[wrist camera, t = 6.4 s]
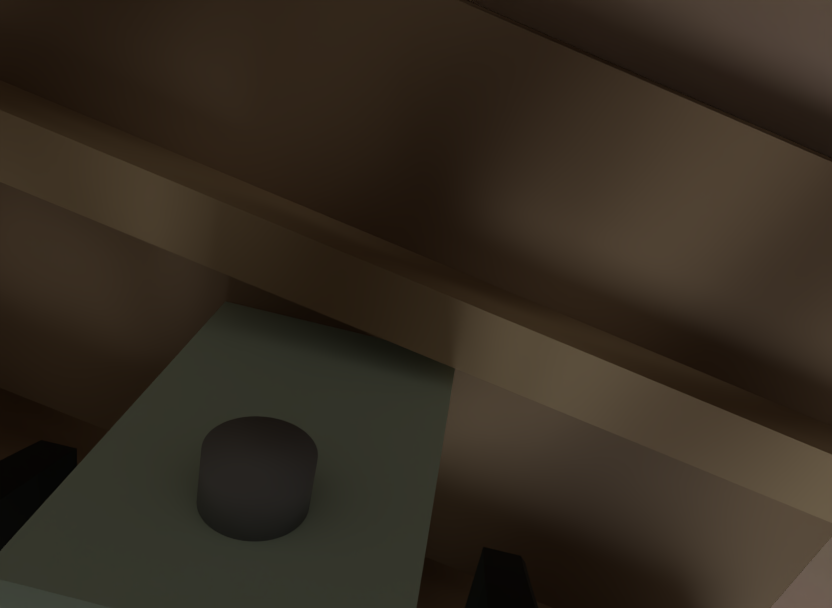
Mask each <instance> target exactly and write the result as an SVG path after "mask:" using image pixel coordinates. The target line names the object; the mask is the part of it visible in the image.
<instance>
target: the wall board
mask: <svg viewBox="0 0 832 608" xmlns="http://www.w3.org/2000/svg"><path fill="white" fill-rule="evenodd" d="M225 302H230V303H234V304H239V305H243V306H247V307H251V308H255V309H259V310H264V311H268V312H272V313H276V314H280V315H284V316H289V317H293V318H297V319H301V320H305V321H309V322H313V323H318V324H322V325H326V326H330V327H334V328H338V329H343V330H347V331H351V332H355V333H359V334H363V335H368V336H372V337H376V338H380V339H384V340H387V341H389V342H392V343H394V344H397V345H399V346H401V347H404V348H406V349H409V350H411V351H414V352H416V353H418V354H421V355H423V356H426V357H428V358H431V359H433V360H436V361H438V362H440V363H443V364H445V365H448V366H450V367H453V368H455V372H454V378H453V384H452V391H451V397H450V403H449V409H448V415H447V422H446V428H445V434H444V440H443V446H442V453H441V459H440V465H439V471H438V477H437V484H436V490H435V496H434V502H433V508H432V515H431V521H430V527H429V533H428V539H427V546H426V552H425V558H424V564H423V570H422V577H421V583H420V589H419V595H418V601H417V608H465V605H466V602H467V599H468V595H469V592H470V589H471V585H472V582H473V579H474V576H475V572H476V569H477V566H478V562H479V559H480V556H481V553H482V549H483V547H487V548H491V549H495V550H499V551H503V552H507V553H512V554H516V555H520V556H521V557H522V558H523V560H524V561H525V563H526V567H527V571H528V575H529V578H530V582H531V585H532V589H533V592H534V595H535V599H536V602H537V605H538V608H771V607H772V605H773V604H774V603H775V602H776V601H777V600H778V598H779V597H780V596H781V595H782V594H783V593H784V591H785V590H786V589H787V588H788V587H789V586H790V584H791V583H792V582H793V581H794V580H795V579H796V578H797V576H798V575H799V574H800V573H801V572H802V571H803V569H804V568H805V567H806V566H807V565H808V564H809V562H810V561H811V560H812V559H813V558H814V557H815V555H816V554H817V553H818V552H819V551H820V550H821V549H822V547H823V546H824V545H825V544H826V543H827V542H828V540H829V539H830V538H831V537H832V158H830V157H827V156H825V155H823V154H820V153H818V152H816V151H813V150H811V149H809V148H806V147H804V146H802V145H800V144H797V143H795V142H793V141H790V140H788V139H786V138H783V137H781V136H779V135H776V134H774V133H772V132H770V131H767V130H765V129H763V128H760V127H758V126H756V125H753V124H751V123H749V122H746V121H744V120H742V119H739V118H737V117H735V116H733V115H730V114H728V113H726V112H723V111H721V110H719V109H716V108H714V107H712V106H709V105H707V104H705V103H703V102H700V101H698V100H696V99H693V98H691V97H689V96H686V95H684V94H682V93H679V92H677V91H675V90H673V89H670V88H668V87H666V86H663V85H661V84H659V83H656V82H654V81H652V80H649V79H647V78H645V77H643V76H640V75H638V74H636V73H633V72H631V71H629V70H626V69H624V68H622V67H619V66H617V65H615V64H612V63H610V62H608V61H606V60H603V59H601V58H599V57H596V56H594V55H592V54H589V53H587V52H585V51H582V50H580V49H578V48H576V47H573V46H571V45H569V44H566V43H564V42H562V41H559V40H557V39H555V38H552V37H550V36H548V35H546V34H543V33H541V32H539V31H536V30H534V29H532V28H529V27H527V26H525V25H522V24H520V23H518V22H516V21H513V20H511V19H509V18H506V17H504V16H502V15H499V14H497V13H495V12H492V11H490V10H488V9H485V8H483V7H481V6H479V5H476V4H474V3H472V2H469V1H467V0H0V460H2V459H4V458H6V457H8V456H10V455H12V454H14V453H16V452H18V451H20V450H22V449H24V448H26V447H28V446H30V445H32V444H34V443H36V442H38V441H40V440H44V441H48V442H52V443H56V444H61V445H65V446H69V447H73V448H77V465H78V464H79V463H80V462H81V461H82V460H83V459H84V458H85V457H86V456H87V454H88V453H89V452H90V451H91V450H92V449H93V448H94V447H95V446H96V444H97V443H98V442H99V441H100V440H101V439H102V438H103V437H104V436H105V434H106V433H107V432H108V431H109V430H110V429H111V428H112V427H113V426H114V424H115V423H116V422H117V421H118V420H119V419H120V418H121V417H122V416H123V415H124V413H125V412H126V411H127V410H128V409H129V408H130V407H131V406H132V405H133V403H134V402H135V401H136V400H137V399H138V398H139V397H140V396H141V395H142V393H143V392H144V391H145V390H146V389H147V388H148V387H149V386H150V385H151V384H152V382H153V381H154V380H155V379H156V378H157V377H158V376H159V375H160V374H161V372H162V371H163V370H164V369H165V368H166V367H167V366H168V365H169V364H170V362H171V361H172V360H173V359H174V358H175V357H176V356H177V355H178V354H179V353H180V351H181V350H182V349H183V348H184V347H185V346H186V345H187V344H188V343H189V341H190V340H191V339H192V338H193V337H194V336H195V335H196V334H197V333H198V331H199V330H200V329H201V328H202V327H203V326H204V325H205V324H206V323H207V321H208V320H209V319H210V318H211V317H212V316H213V315H214V314H215V313H216V312H217V310H218V309H219V308H220V307H221V306H222V305H223V304H224V303H225Z"/></svg>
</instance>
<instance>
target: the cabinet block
mask: <svg viewBox="0 0 832 608" xmlns="http://www.w3.org/2000/svg"><path fill="white" fill-rule="evenodd" d="M454 372H455V368H453V367H450V366H448V365H445V364H443V363H440V362H438V361H436V360H433V359H431V358H428V357H426V356H423V355H421V354H418V353H416V352H414V351H411V350H409V349H406V348H404V347H401V346H399V345H397V344H394V343H392V342H389V341H387V340H384V339H380V338H376V337H372V336H368V335H363V334H359V333H355V332H351V331H347V330H343V329H338V328H334V327H330V326H326V325H322V324H318V323H313V322H309V321H305V320H301V319H297V318H293V317H289V316H284V315H280V314H276V313H272V312H268V311H264V310H259V309H255V308H251V307H247V306H243V305H239V304H234V303H230V302H225V303H224V304H223V305H222V306H221V307H220V308H219V309H218V310H217V312H216V313H215V314H214V315H213V316H212V317H211V318H210V319H209V320H208V321H207V323H206V324H205V325H204V326H203V327H202V328H201V329H200V330H199V331H198V333H197V334H196V335H195V336H194V337H193V338H192V339H191V340H190V341H189V343H188V344H187V345H186V346H185V347H184V348H183V349H182V350H181V351H180V353H179V354H178V355H177V356H176V357H175V358H174V359H173V360H172V361H171V362H170V364H169V365H168V366H167V367H166V368H165V369H164V370H163V371H162V372H161V374H160V375H159V376H158V377H157V378H156V379H155V380H154V381H153V382H152V384H151V385H150V386H149V387H148V388H147V389H146V390H145V391H144V392H143V393H142V395H141V396H140V397H139V398H138V399H137V400H136V401H135V402H134V403H133V405H132V406H131V407H130V408H129V409H128V410H127V411H126V412H125V413H124V415H123V416H122V417H121V418H120V419H119V420H118V421H117V422H116V423H115V424H114V426H113V427H112V428H111V429H110V430H109V431H108V432H107V433H106V434H105V436H104V437H103V438H102V439H101V440H100V441H99V442H98V443H97V444H96V446H95V447H94V448H93V449H92V450H91V451H90V452H89V453H88V454H87V456H86V457H85V458H84V459H83V460H82V461H81V462H80V463H79V464H78V465H77V467H76V468H75V469H74V470H73V471H72V472H71V473H70V474H69V475H68V477H67V478H66V479H65V480H64V481H63V482H62V483H61V484H60V485H59V487H58V488H57V489H56V490H55V491H54V492H53V493H52V494H51V495H50V496H49V498H48V499H47V500H46V501H45V502H44V503H43V504H42V505H41V506H40V508H39V509H38V510H37V511H36V512H35V513H34V514H33V515H32V516H31V518H30V519H29V520H28V521H27V522H26V523H25V524H24V525H23V526H22V528H21V529H20V530H19V531H18V532H17V533H16V534H15V535H14V536H13V537H12V539H11V540H10V541H9V542H8V543H7V544H6V545H5V546H4V547H3V549H2V550H1V551H0V608H417V601H418V595H419V589H420V583H421V577H422V570H423V564H424V558H425V552H426V546H427V539H428V533H429V527H430V521H431V515H432V508H433V502H434V496H435V490H436V484H437V477H438V471H439V465H440V459H441V453H442V446H443V440H444V434H445V428H446V422H447V415H448V409H449V403H450V397H451V391H452V384H453V378H454Z"/></svg>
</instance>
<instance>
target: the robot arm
mask: <svg viewBox="0 0 832 608" xmlns="http://www.w3.org/2000/svg"><path fill="white" fill-rule="evenodd" d="M76 467H77V448H73V447H69V446H65V445H61V444H56V443H52V442H48V441H44V440H40V441H38V442H36V443H34V444H32V445H30V446H28V447H26V448H24V449H22V450H20V451H18V452H16V453H14V454H12V455H10V456H8V457H6V458H4V459H2V460H0V551H1V550H2V549H3V547H4V546H5V545H6V544H7V543H8V542H9V541H10V540H11V539H12V537H13V536H14V535H15V534H16V533H17V532H18V531H19V530H20V529H21V528H22V526H23V525H24V524H25V523H26V522H27V521H28V520H29V519H30V518H31V516H32V515H33V514H34V513H35V512H36V511H37V510H38V509H39V508H40V506H41V505H42V504H43V503H44V502H45V501H46V500H47V499H48V498H49V496H50V495H51V494H52V493H53V492H54V491H55V490H56V489H57V488H58V487H59V485H60V484H61V483H62V482H63V481H64V480H65V479H66V478H67V477H68V475H69V474H70V473H71V472H72V471H73V470H74V469H75V468H76ZM465 608H538V605H537V602H536V599H535V595H534V592H533V589H532V585H531V582H530V578H529V575H528V571H527V567H526V563H525V561H524V560H523V558H522V557H521V556H520V555H516V554H512V553H507V552H503V551H499V550H495V549H491V548H487V547H483V549H482V553H481V556H480V559H479V562H478V566H477V569H476V572H475V576H474V579H473V582H472V585H471V589H470V592H469V595H468V599H467V602H466V605H465Z"/></svg>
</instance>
